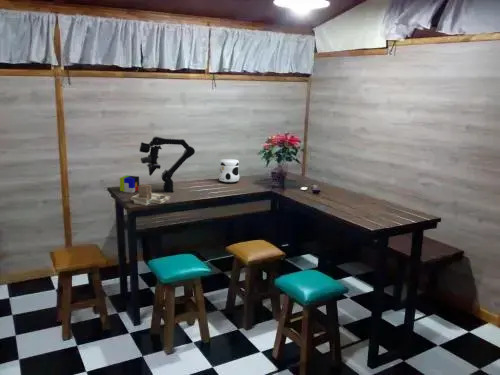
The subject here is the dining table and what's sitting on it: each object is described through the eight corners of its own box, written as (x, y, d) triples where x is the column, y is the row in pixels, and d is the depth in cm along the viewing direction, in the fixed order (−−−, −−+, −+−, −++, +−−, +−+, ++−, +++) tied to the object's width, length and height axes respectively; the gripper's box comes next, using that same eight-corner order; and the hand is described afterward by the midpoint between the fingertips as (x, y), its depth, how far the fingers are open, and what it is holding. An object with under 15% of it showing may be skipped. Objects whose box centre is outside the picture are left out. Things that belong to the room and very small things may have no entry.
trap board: (143, 194, 307) (143, 189, 307) (172, 197, 301) (172, 192, 300) (125, 202, 285) (125, 196, 285) (155, 206, 279) (155, 200, 278)
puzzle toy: (133, 192, 312) (132, 179, 310) (120, 191, 314) (119, 177, 311) (139, 189, 321) (139, 176, 319) (126, 188, 323) (126, 175, 321)
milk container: (214, 181, 360) (214, 159, 356) (230, 178, 372) (230, 158, 368) (227, 185, 348) (228, 162, 344) (243, 182, 359) (244, 161, 356)
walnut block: (143, 197, 291) (143, 184, 289) (151, 198, 290) (151, 185, 288) (138, 199, 286) (138, 186, 284) (146, 200, 284) (146, 187, 282)
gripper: (138, 150, 314) (135, 171, 316) (147, 155, 298) (143, 177, 301) (153, 152, 320) (150, 172, 322) (162, 157, 304) (158, 179, 307)
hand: (150, 175), depth 313 cm, fingers closed
